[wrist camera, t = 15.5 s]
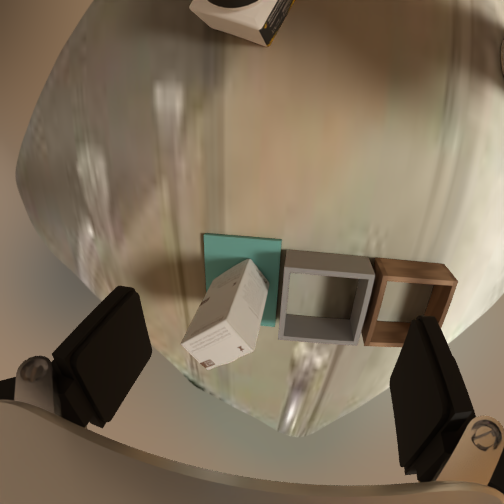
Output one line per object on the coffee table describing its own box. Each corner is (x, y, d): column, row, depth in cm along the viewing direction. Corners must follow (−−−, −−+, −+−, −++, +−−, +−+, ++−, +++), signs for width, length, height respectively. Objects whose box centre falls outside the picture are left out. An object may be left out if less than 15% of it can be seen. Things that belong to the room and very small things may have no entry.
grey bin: (367, 256, 34) (375, 274, 30) (353, 323, 38) (357, 345, 34) (286, 249, 36) (284, 266, 32) (281, 317, 40) (277, 339, 36)
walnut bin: (444, 264, 33) (457, 281, 29) (423, 326, 37) (432, 347, 33) (375, 257, 34) (383, 275, 30) (359, 323, 38) (364, 345, 34)
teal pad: (281, 239, 35) (281, 241, 35) (275, 324, 40) (274, 326, 40) (205, 233, 36) (203, 234, 36) (209, 316, 41) (207, 318, 41)
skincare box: (249, 255, 36) (224, 315, 25) (272, 284, 37) (257, 351, 26) (210, 280, 38) (175, 342, 27) (233, 306, 39) (207, 373, 28)
